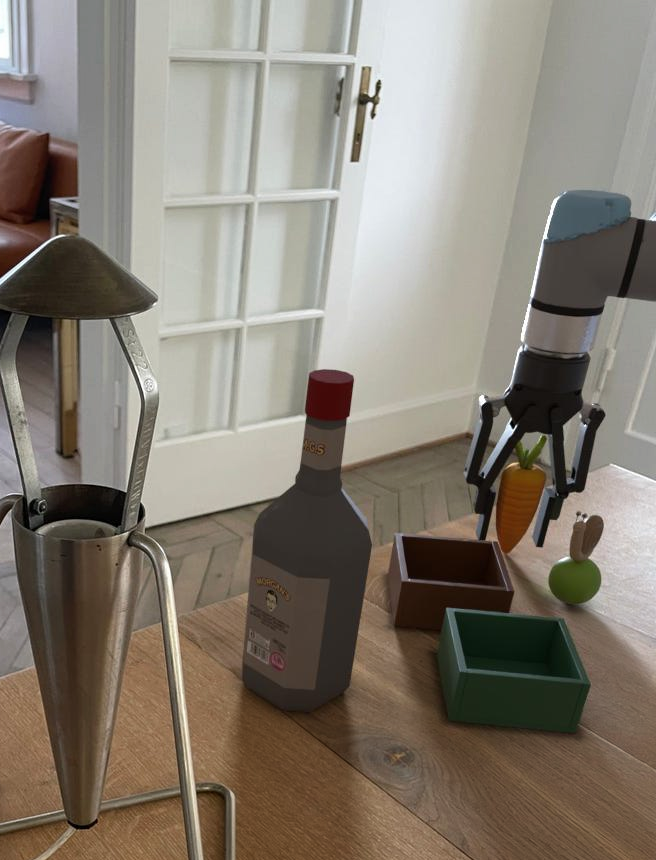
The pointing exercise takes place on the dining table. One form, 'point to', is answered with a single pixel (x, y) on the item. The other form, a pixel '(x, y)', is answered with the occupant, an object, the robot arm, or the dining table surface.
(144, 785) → the dining table surface
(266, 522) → the liquor
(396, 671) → the dining table surface
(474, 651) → the green bin
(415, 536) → the brown bin
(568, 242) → the robot arm
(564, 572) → the snail figurine
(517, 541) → the carrot
